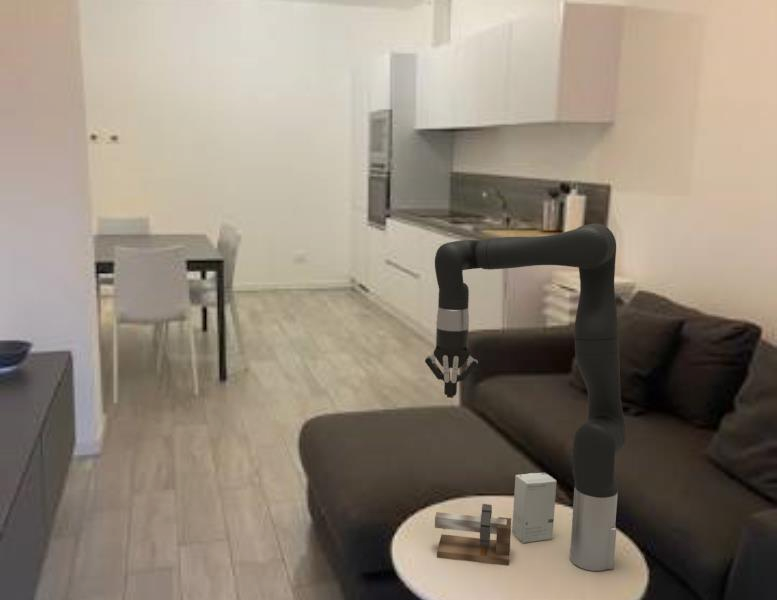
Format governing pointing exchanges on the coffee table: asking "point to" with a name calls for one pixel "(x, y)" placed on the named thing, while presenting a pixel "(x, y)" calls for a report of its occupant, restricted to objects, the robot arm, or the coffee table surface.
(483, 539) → the o ring
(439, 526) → the pipe stand
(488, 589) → the coffee table surface
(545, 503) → the skincare box
